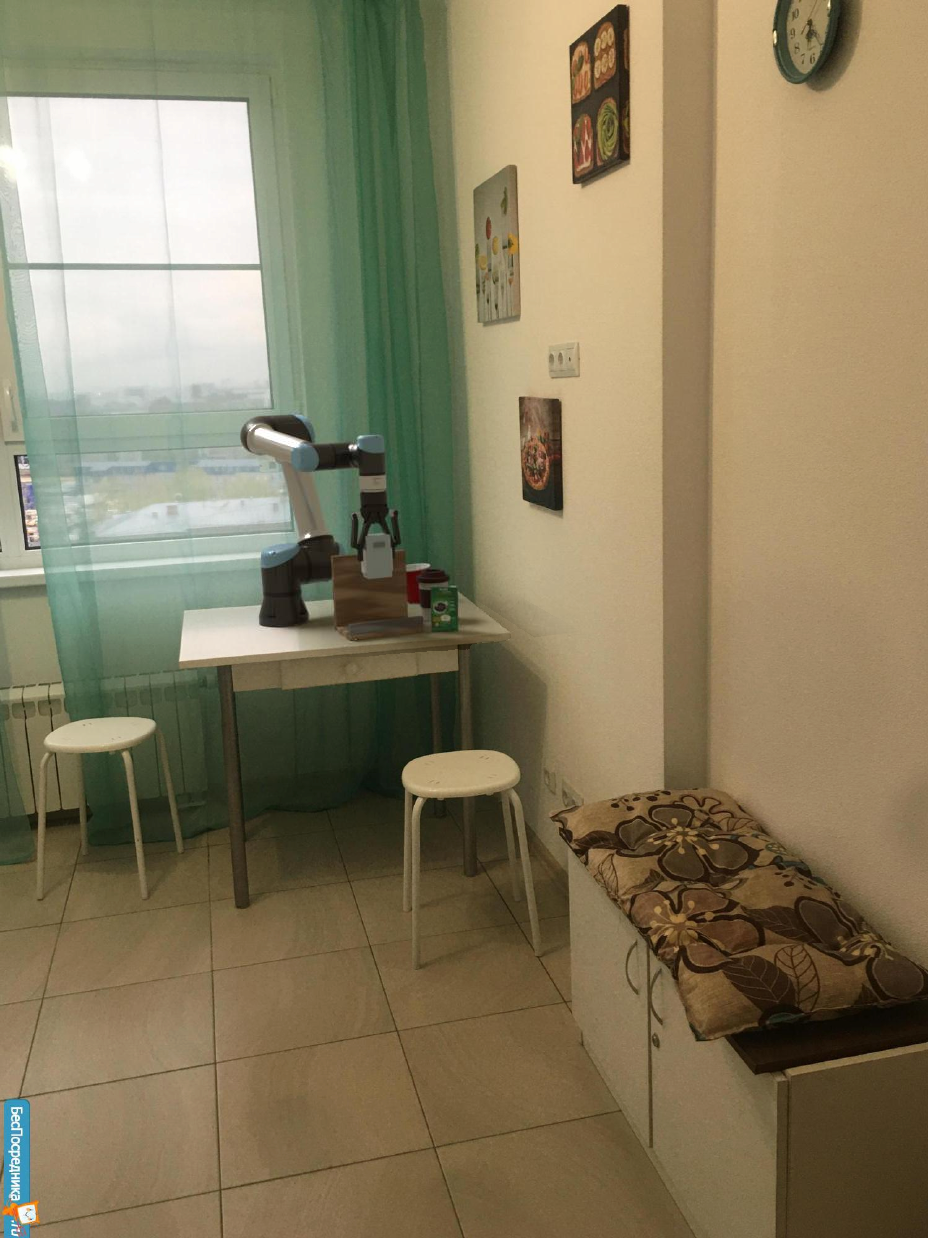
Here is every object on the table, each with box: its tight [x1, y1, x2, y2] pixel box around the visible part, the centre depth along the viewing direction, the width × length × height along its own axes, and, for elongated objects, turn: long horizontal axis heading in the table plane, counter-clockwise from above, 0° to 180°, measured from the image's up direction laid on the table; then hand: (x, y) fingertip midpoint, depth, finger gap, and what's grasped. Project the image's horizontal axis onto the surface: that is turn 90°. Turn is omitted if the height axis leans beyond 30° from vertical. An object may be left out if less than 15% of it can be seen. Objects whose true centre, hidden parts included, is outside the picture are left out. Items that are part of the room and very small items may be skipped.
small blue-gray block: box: [363, 532, 392, 579], centre depth 310 cm, size 6×7×12 cm
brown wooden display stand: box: [331, 549, 425, 641], centre depth 313 cm, size 15×22×22 cm
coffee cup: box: [417, 568, 451, 623], centre depth 328 cm, size 10×10×15 cm
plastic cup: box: [406, 563, 431, 604], centre depth 357 cm, size 11×11×12 cm
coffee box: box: [430, 585, 459, 632], centre depth 313 cm, size 8×3×13 cm, turn 88°
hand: (377, 571), depth 311 cm, fingers closed on small blue-gray block, 7 cm apart
